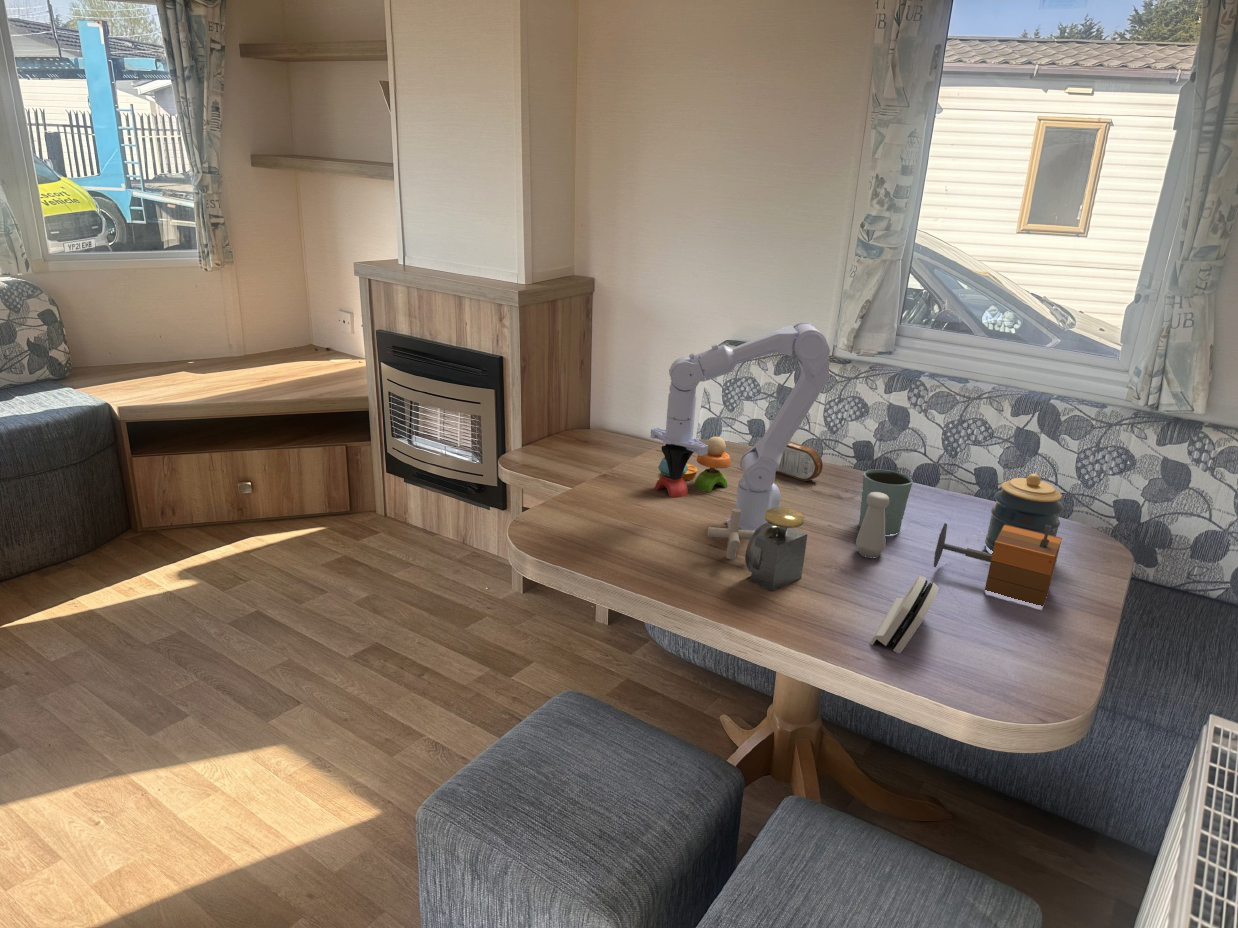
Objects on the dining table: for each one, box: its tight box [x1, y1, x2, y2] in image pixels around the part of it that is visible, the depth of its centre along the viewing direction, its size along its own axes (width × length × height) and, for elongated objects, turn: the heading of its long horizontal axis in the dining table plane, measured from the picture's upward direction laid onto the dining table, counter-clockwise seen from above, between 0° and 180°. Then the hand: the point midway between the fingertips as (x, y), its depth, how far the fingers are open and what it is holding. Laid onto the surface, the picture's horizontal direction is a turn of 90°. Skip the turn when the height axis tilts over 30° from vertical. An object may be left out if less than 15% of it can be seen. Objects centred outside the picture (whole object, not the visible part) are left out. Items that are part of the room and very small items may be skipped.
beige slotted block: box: [869, 575, 940, 654], centre depth 147 cm, size 17×5×10 cm, turn 151°
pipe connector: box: [707, 507, 755, 560], centre depth 170 cm, size 10×10×10 cm
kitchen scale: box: [744, 507, 808, 592], centre depth 162 cm, size 10×8×13 cm
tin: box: [776, 440, 824, 482], centre depth 219 cm, size 15×3×8 cm, turn 46°
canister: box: [984, 473, 1064, 551], centre depth 179 cm, size 13×13×18 cm
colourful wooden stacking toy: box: [654, 436, 732, 498], centre depth 208 cm, size 18×17×12 cm
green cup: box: [858, 469, 913, 535], centre depth 189 cm, size 10×10×12 cm
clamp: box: [933, 522, 1063, 606], centre depth 165 cm, size 11×20×14 cm, turn 58°
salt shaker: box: [855, 492, 889, 559], centre depth 176 cm, size 6×6×13 cm
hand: (675, 478), depth 185 cm, fingers closed
